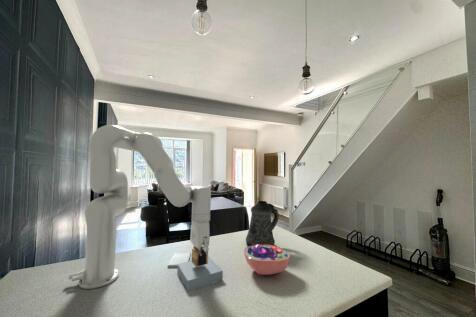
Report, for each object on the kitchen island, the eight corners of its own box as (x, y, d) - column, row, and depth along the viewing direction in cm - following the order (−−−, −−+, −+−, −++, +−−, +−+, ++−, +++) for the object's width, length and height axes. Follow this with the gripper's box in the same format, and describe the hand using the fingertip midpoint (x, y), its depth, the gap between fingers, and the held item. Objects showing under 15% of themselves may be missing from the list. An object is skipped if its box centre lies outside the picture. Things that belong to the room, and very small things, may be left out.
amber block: (195, 266, 75) (196, 253, 76) (191, 261, 80) (191, 249, 80) (207, 263, 78) (208, 251, 78) (202, 258, 82) (203, 246, 83)
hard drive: (186, 264, 85) (190, 252, 98) (167, 265, 85) (174, 252, 97) (186, 268, 85) (190, 255, 98) (167, 269, 85) (174, 256, 97)
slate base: (187, 292, 69) (187, 280, 69) (177, 273, 81) (177, 263, 81) (222, 281, 76) (222, 270, 77) (208, 265, 88) (208, 256, 88)
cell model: (291, 286, 73) (291, 256, 73) (239, 279, 77) (240, 250, 77) (289, 265, 89) (289, 240, 90) (246, 259, 93) (246, 236, 94)
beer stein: (240, 246, 110) (240, 201, 111) (257, 236, 125) (258, 197, 126) (265, 254, 100) (266, 205, 101) (281, 243, 115) (282, 201, 116)
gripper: (185, 213, 85) (184, 255, 84) (199, 222, 71) (198, 274, 70) (201, 211, 89) (200, 251, 88) (218, 220, 75) (217, 268, 74)
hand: (199, 261), depth 79 cm, fingers closed on amber block, 5 cm apart
